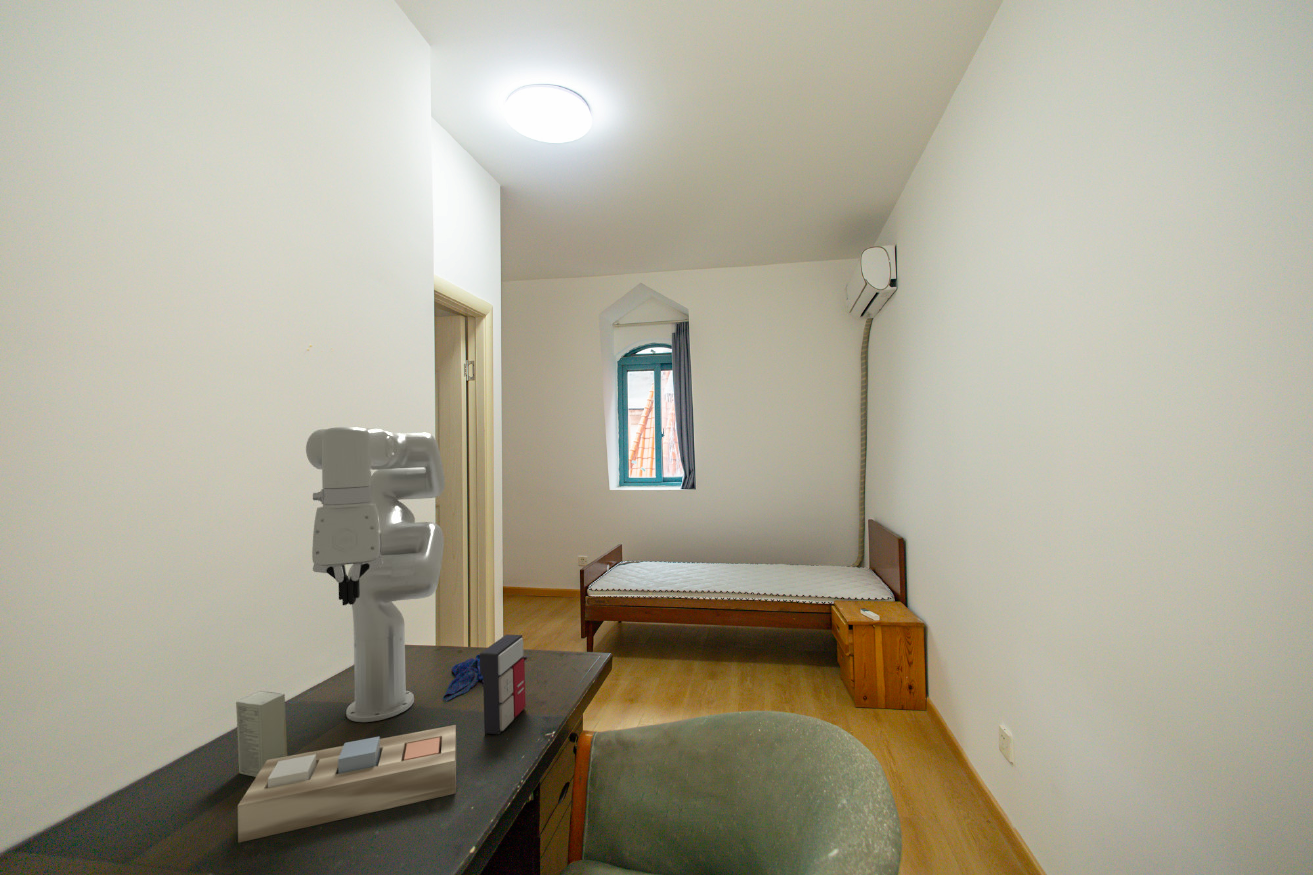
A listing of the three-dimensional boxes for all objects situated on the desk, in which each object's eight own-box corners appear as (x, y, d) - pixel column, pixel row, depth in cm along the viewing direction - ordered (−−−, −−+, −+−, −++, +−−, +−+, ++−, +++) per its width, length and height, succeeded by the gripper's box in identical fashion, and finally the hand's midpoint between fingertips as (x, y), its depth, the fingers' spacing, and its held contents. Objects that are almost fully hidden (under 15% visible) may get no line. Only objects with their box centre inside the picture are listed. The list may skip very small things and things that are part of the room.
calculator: (502, 735, 101) (500, 654, 102) (481, 734, 102) (479, 653, 102) (527, 708, 112) (526, 634, 112) (508, 706, 113) (506, 633, 113)
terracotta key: (407, 762, 90) (407, 743, 90) (440, 755, 91) (439, 737, 92) (404, 778, 85) (404, 759, 85) (438, 771, 87) (438, 752, 87)
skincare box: (288, 765, 94) (287, 693, 94) (262, 780, 89) (261, 705, 90) (262, 759, 96) (261, 689, 96) (235, 773, 92) (235, 700, 92)
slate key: (345, 761, 87) (344, 742, 87) (380, 755, 88) (379, 736, 89) (338, 779, 82) (338, 759, 82) (375, 771, 84) (375, 751, 84)
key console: (267, 792, 86) (267, 760, 86) (456, 753, 96) (455, 724, 96) (238, 842, 75) (237, 805, 75) (455, 793, 84) (454, 760, 84)
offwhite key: (278, 780, 84) (278, 761, 84) (316, 773, 85) (316, 753, 85) (267, 800, 79) (267, 779, 79) (307, 791, 81) (307, 771, 81)
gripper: (291, 502, 90) (293, 614, 89) (392, 496, 95) (394, 603, 94) (304, 498, 97) (305, 603, 96) (396, 494, 102) (398, 593, 101)
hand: (349, 602), depth 95 cm, fingers closed
